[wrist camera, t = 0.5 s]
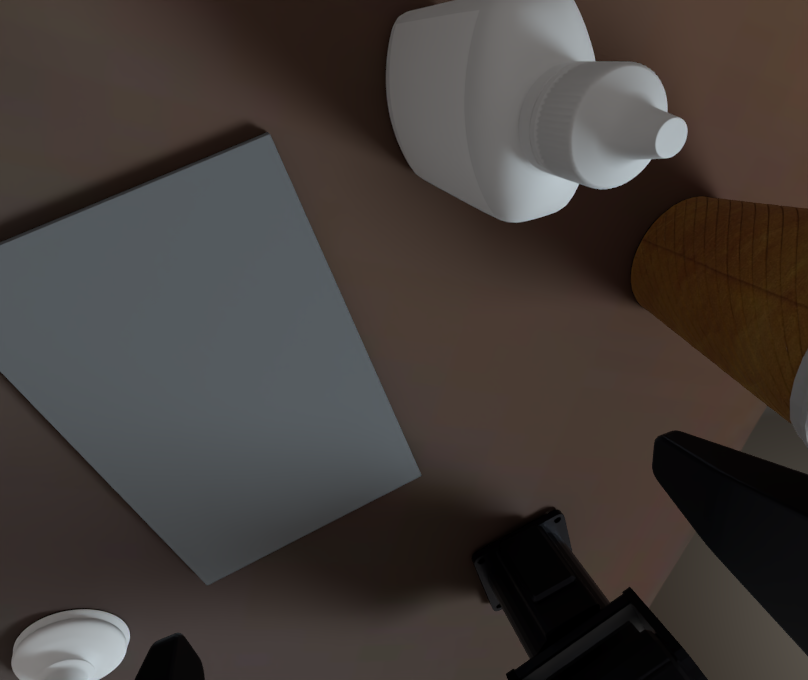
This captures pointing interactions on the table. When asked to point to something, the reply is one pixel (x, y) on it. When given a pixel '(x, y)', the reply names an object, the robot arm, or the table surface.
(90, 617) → the chess piece
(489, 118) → the eye dropper bottle
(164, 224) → the slate mat
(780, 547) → the robot arm
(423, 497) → the table surface
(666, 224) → the disposable coffee cup
